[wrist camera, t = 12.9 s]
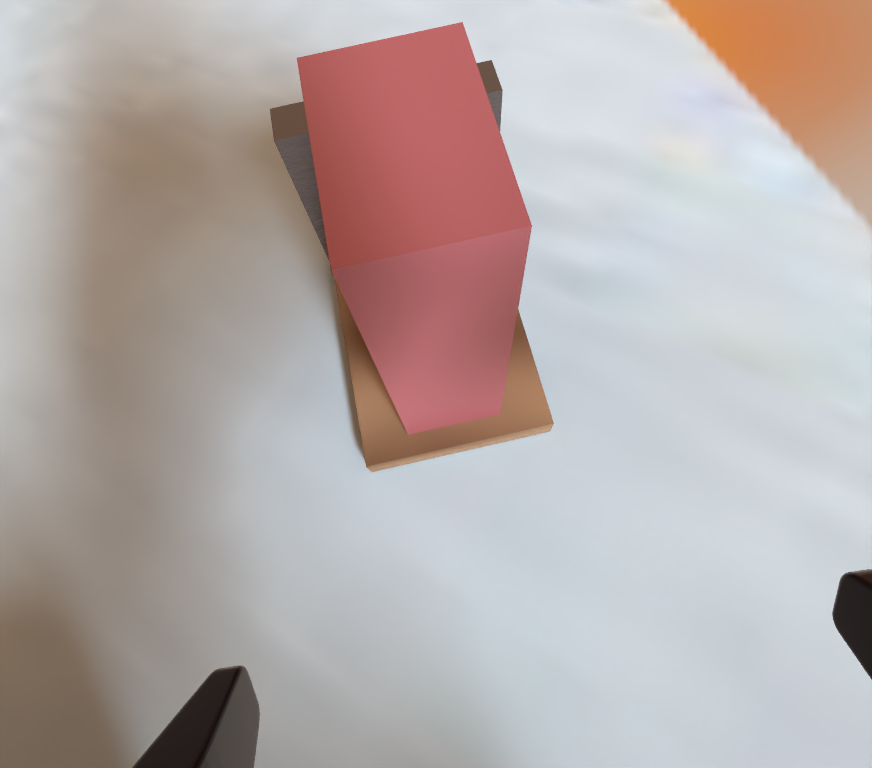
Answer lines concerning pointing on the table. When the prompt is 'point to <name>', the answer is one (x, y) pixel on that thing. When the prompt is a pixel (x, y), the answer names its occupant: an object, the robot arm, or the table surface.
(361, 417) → the tan flat rectangular slab
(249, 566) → the table surface
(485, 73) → the metal bookend
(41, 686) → the table surface
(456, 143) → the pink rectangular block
